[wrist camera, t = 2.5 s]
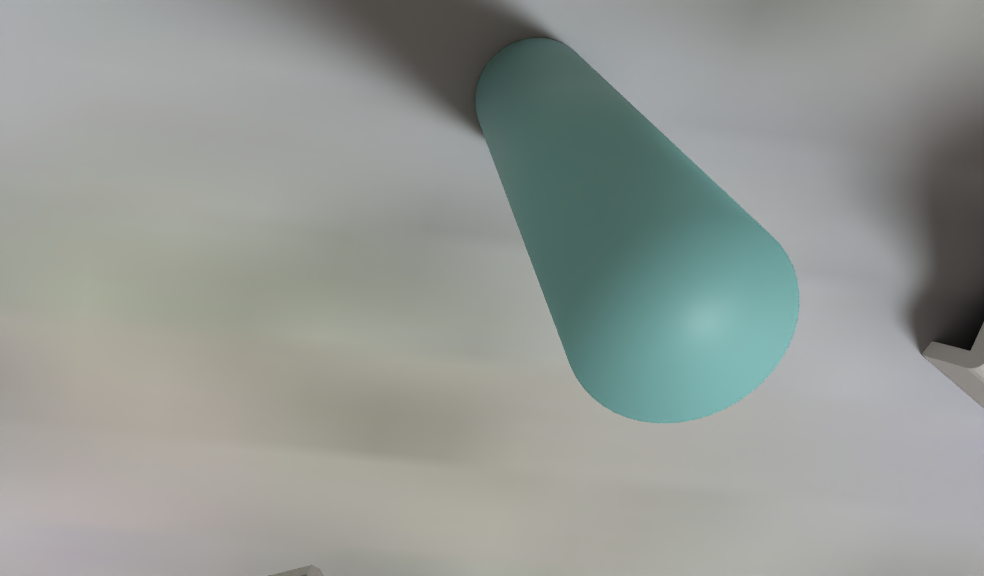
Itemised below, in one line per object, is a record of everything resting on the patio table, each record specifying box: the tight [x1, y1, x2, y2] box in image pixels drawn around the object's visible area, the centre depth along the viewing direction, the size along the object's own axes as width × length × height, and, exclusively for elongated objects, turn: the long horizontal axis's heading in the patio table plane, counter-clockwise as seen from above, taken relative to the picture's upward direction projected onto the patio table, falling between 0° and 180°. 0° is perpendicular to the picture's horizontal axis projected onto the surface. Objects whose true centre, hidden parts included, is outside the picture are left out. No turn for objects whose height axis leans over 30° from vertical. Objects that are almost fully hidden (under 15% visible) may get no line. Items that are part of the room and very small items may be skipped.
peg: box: [475, 38, 799, 423], centre depth 16 cm, size 3×3×12 cm
